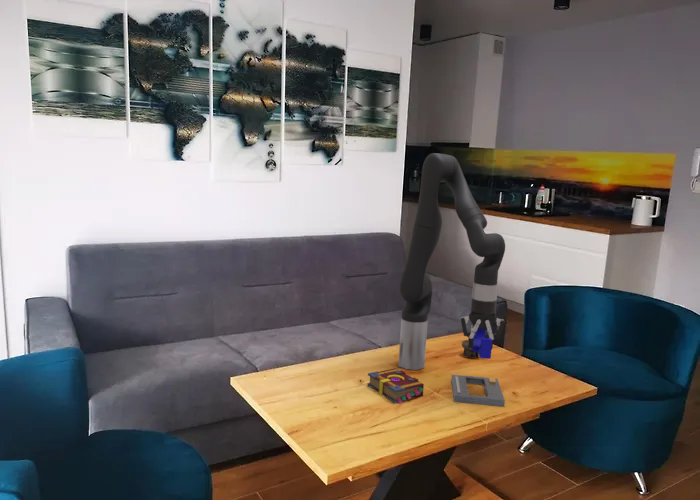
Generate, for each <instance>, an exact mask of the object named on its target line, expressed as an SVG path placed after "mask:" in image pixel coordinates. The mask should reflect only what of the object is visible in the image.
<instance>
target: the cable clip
mask: <svg viewBox="0 0 700 500" xmlns="http://www.w3.org/2000/svg"><path fill="white" fill-rule="evenodd" d="M473 339H474V341H473V350H472V351H477V352H478V354H479V356H478V357H479V358H480V359H487V360H488V359H489V360H491V359H492V350H493V348H492V339H491V338H489V337H486V330H484V329H477V331H476V333H475V334H474V337H473ZM491 349H492V350H491Z"/></svg>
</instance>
